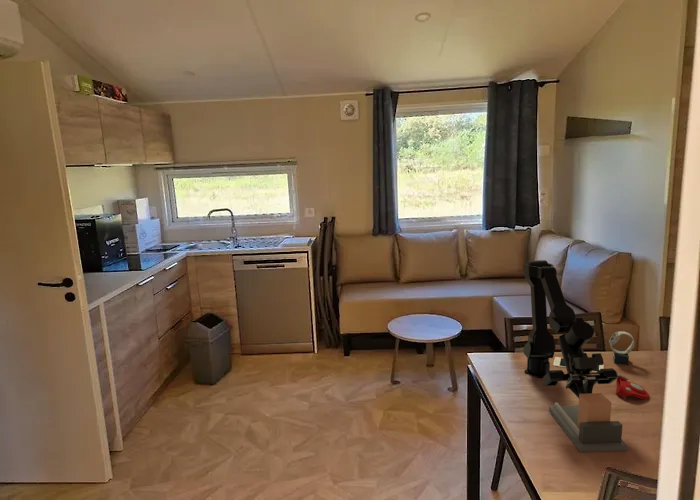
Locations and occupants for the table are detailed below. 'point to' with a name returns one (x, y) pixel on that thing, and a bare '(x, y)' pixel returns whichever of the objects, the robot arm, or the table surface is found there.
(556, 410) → the guide track
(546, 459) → the table surface
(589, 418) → the brown block
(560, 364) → the cell phone
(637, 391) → the red tape dispenser
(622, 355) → the watch
